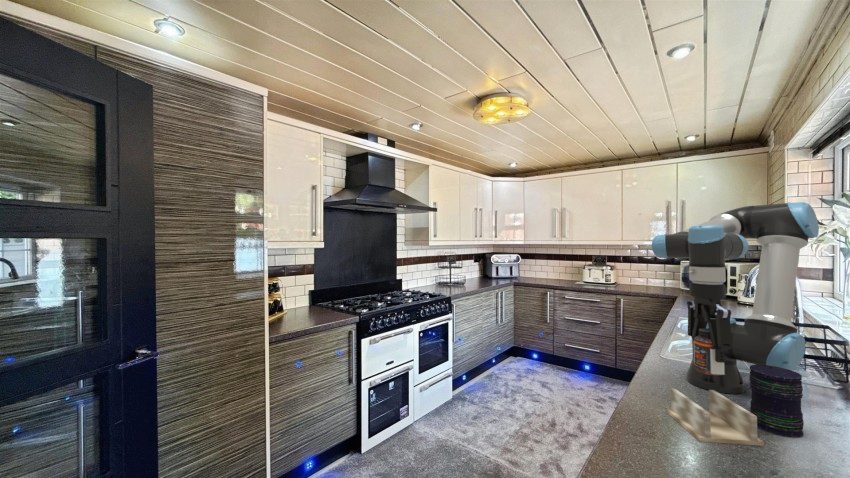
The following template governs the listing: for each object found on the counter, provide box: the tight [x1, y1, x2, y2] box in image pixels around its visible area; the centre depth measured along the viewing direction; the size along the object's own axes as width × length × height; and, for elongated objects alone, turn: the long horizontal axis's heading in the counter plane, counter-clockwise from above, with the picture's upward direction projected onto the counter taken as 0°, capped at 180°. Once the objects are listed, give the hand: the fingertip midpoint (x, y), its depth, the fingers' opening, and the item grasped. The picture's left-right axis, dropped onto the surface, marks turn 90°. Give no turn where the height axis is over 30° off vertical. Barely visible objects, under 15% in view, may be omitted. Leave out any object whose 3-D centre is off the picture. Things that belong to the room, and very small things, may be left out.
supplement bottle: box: [694, 328, 720, 376], centre depth 90 cm, size 6×6×11 cm
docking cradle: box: [665, 387, 765, 447], centre depth 90 cm, size 15×14×7 cm
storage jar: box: [748, 364, 805, 439], centre depth 90 cm, size 10×10×15 cm
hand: (708, 369), depth 90 cm, fingers closed on supplement bottle, 6 cm apart
